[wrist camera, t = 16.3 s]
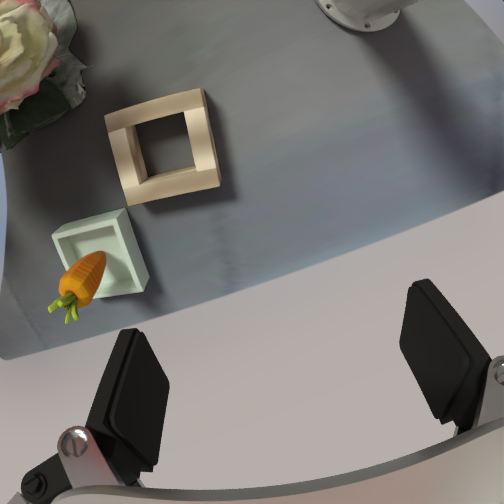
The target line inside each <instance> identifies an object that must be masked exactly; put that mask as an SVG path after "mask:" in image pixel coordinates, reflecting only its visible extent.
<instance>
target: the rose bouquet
mask: <svg viewBox="0 0 504 504" xmlns="http://www.w3.org/2000/svg"><path fill="white" fill-rule="evenodd" d="M67 1H68V0H0V144H1V143H3V144H4V145H5V147H6V148H7V149H9V148H12V147H13V146H14V145H16V144H17V143H18V142H19V141H20V140H21V139H23V138H24V137H25V136H27V135H28V134H29V132H30V131H32V130H38V129H41V128H43V127H45V126H47V125H48V124H50V123H52V122H54V121H56V120H57V119H58V118H60V117H61V116H62V115H63V114H64V113H65V112H66V111H68V110H70V109H73V108H75V107H76V106H78V105H79V104H81V103H82V101H83V99H84V98H85V96H86V90H85V85H84V83H83V82H82V77H81V73H82V71H81V73H80V72H79V71H80V70H81V69H84V68H87V67H86V66H85V65H84V64H83V63H81V62H80V61H79V60H78V59H77V58H76V57H75V56H74V55H73V54H72V53H71V52H70V51H69V50H68V47H69V45H70V43H71V40H72V38H73V36H74V34H75V32H76V29H77V23H76V18H74V12H73V10H72V7H71V5H69V4H70V3H69V2H67ZM95 65H96V64H95ZM92 66H94V65H92ZM92 66H90V67H92ZM51 72H56V75H55V76H54V77H53V76H51V75H50V73H51ZM0 153H1V151H0Z"/></svg>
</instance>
